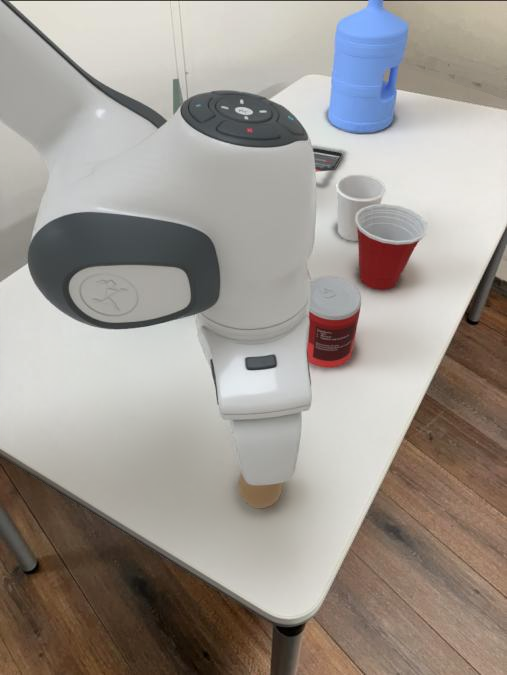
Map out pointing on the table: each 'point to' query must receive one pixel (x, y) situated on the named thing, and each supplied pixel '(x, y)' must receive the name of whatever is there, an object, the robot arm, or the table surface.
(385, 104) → the water jug
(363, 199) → the dixie cup
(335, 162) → the smartphone
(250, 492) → the wooden ball
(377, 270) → the plastic cup
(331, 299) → the canned food
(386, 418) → the table surface
